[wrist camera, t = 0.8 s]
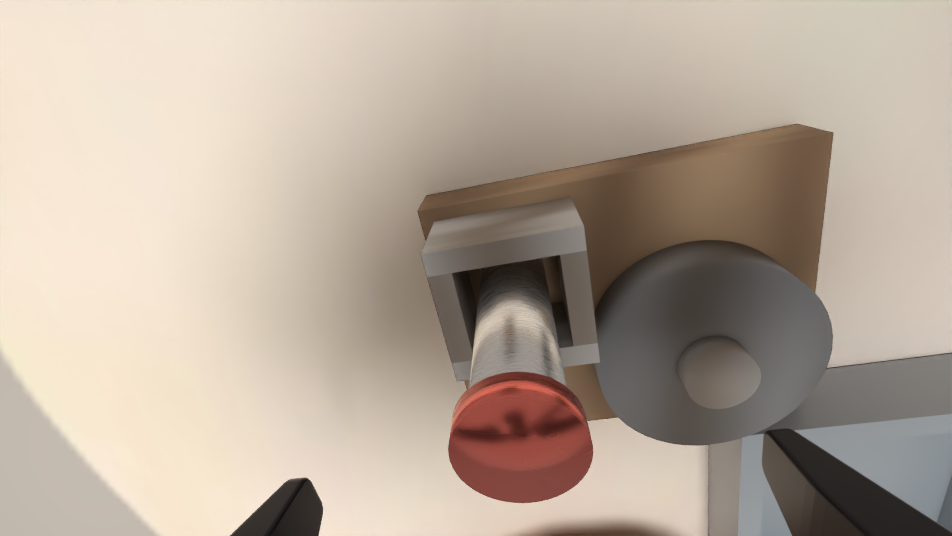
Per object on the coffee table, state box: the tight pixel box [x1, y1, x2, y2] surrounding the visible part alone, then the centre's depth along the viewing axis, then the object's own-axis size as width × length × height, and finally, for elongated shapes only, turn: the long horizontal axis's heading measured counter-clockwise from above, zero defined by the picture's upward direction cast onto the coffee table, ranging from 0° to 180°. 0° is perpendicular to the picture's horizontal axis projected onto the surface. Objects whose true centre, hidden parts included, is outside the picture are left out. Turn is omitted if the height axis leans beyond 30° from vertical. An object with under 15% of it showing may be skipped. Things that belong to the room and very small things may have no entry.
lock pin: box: [448, 258, 593, 503], centre depth 13 cm, size 3×3×9 cm
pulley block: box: [418, 124, 833, 445], centre depth 17 cm, size 14×11×5 cm
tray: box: [709, 353, 952, 536], centre depth 22 cm, size 12×12×3 cm
